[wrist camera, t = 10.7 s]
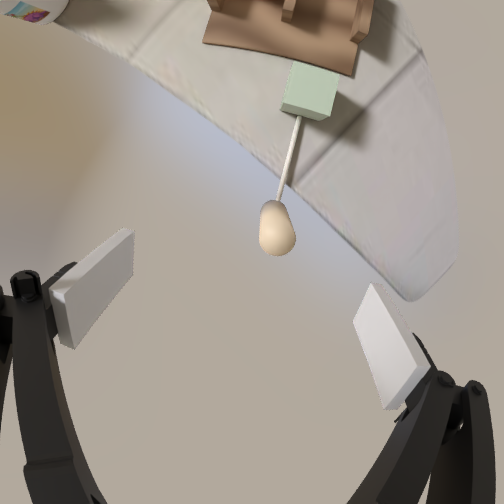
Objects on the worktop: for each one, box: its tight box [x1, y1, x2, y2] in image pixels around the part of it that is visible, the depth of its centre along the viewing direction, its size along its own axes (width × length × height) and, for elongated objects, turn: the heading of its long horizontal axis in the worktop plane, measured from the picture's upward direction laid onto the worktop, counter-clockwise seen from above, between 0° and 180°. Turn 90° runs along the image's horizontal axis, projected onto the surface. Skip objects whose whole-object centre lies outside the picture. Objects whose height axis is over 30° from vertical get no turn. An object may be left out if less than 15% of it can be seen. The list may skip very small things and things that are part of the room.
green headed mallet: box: [259, 61, 340, 256], centre depth 29 cm, size 20×5×11 cm, turn 167°
